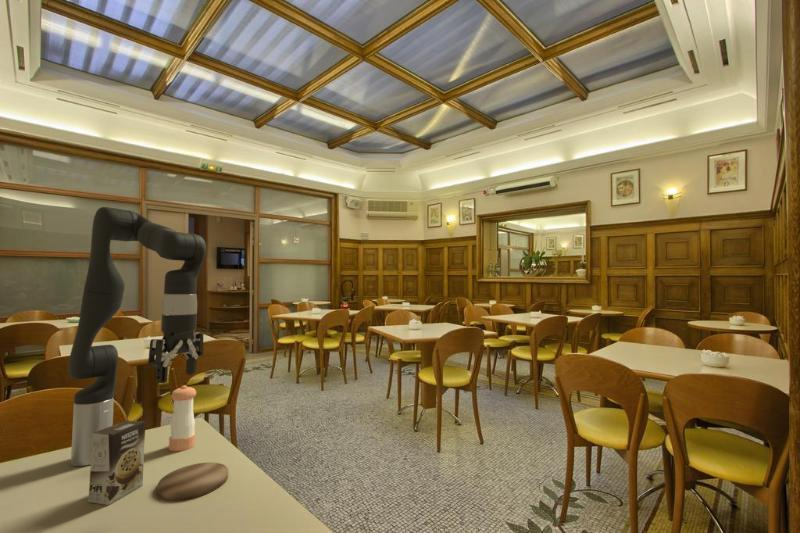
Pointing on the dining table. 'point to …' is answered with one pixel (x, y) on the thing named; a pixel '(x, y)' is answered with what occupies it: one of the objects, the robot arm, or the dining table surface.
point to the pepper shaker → (182, 420)
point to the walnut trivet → (192, 481)
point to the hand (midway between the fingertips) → (176, 378)
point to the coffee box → (116, 461)
